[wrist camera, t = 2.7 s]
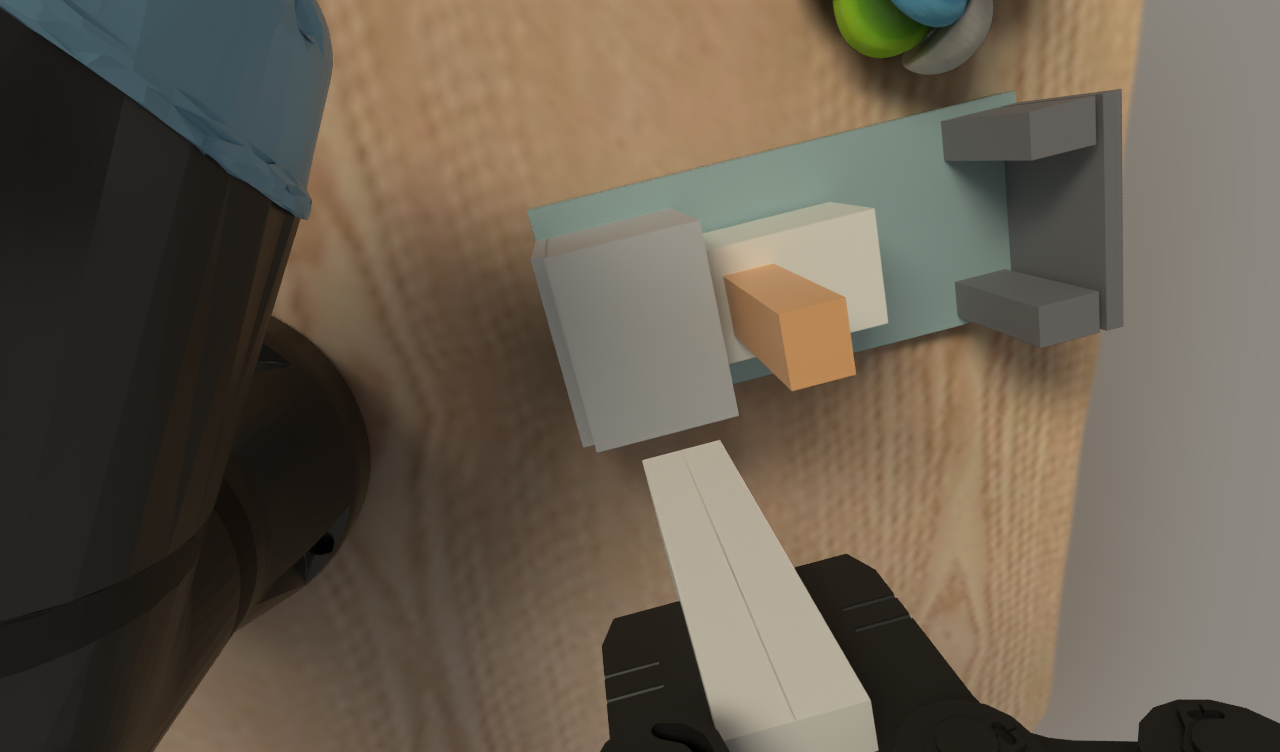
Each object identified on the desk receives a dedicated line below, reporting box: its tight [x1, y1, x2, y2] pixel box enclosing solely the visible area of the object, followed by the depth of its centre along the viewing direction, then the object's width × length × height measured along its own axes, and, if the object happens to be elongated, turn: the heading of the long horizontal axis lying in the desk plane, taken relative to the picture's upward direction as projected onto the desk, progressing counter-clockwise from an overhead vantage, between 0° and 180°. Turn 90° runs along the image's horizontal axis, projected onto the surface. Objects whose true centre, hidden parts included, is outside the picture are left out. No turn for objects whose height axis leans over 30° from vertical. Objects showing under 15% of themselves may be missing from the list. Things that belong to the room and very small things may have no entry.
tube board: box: [527, 89, 1123, 453], centre depth 29 cm, size 22×10×8 cm, turn 103°
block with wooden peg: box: [703, 202, 888, 391], centre depth 26 cm, size 12×5×12 cm, turn 103°
